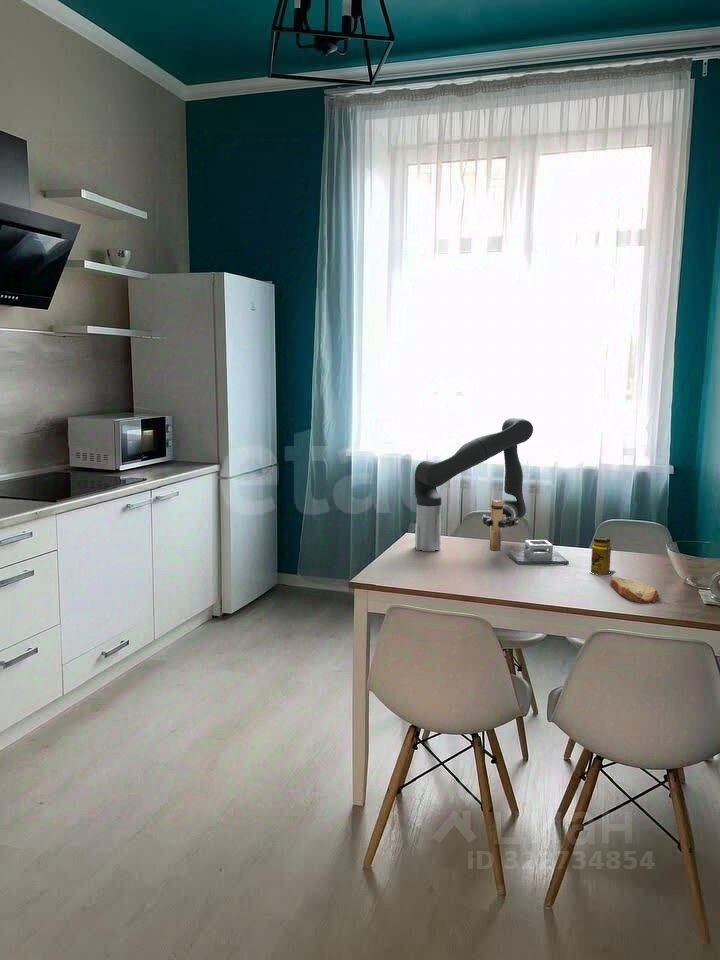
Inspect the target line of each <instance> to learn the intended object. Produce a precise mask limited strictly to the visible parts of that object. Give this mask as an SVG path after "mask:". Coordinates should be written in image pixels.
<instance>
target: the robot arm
mask: <svg viewBox="0 0 720 960" xmlns="http://www.w3.org/2000/svg"><path fill="white" fill-rule="evenodd" d="M533 433H534V426H533V424H532V422H530V421H529V420H527V419H524V418H515V417H511V418H508V419H506V420H505V421H504V422H503V424H502V427H501V431H498V432H495V433H491V434H485V435H483V436H479V437H476V438H475V439H472V440H469V441H468V442H466V443H465V444H463V445H461V446H460V448H459V449H458V450H457V451H456V452H455V453H454V454H453V455H452V456H450V457H448V458H446V459H444V460H441V461H439V462H434V461H430V460H424V461H423V460H422V461H421V462H419V463H418V464H417V465H416V468H415V472H414V494H415V498H416V520H415V521H416V522H415V525H414V526H415V529H414V530H415V531H414V532H415V534H414V535H415V536H414V548H415V547H416V548H415V550H416V551H420V550H422V551H421V552H436V551H435V550H438V551H440V550H441V534H442V533H441V531H442V530H441V528H442V497H441V495H440V494H439V493H438V490H437V488H438V487H440V486H443V485H444V484H446V483H447V482H448V481H450V480H452V479H453V478H454V477H456V476H457V475H459V474H461V473H464V472H465V471H468V470H469V469H471V468H473V467H475V466H477V465H479V464H482V463H484V462H485V461H487V460H489V459H491V458H492V457H494V456H496V455H499V454H500V453H502V452H503V457H504V486H503V487H504V488H503V490H504V493H505V494H507V495H510V496H513V497H514V498H515V500H511V499H503V500H502V501H503V514H502V521H501V522H500V528H502V529H504V528H508V527H509V528H511V527H514V526H518V525H519V519H523V518H524V517H525V516H526V512H527V507H526V503H525V498H524V494H523V485H524V484H523V481H524V479H523V478H524V473H523V468H522V464H521V462H520V458H519V454H518V446H519V444H522V443H525V442H527V441H528V440H529V439H531V437H532V436H533ZM481 517H482V518H481V522H482V523H483V525H486V526H487V527H491V514H490V515H489V516H488V515H486V514H482V515H481ZM439 549H440V550H439Z"/></svg>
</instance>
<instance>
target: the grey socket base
mask: <svg viewBox="0 0 720 960" xmlns="http://www.w3.org/2000/svg"><path fill="white" fill-rule="evenodd" d="M523 548H524V550H522V551H520V550H519V551H518V550H517V551H514V550H512V551H510V550H509V551H508V556H509V557H510V558H511V557H512V558H513V559H514V560H513V559H512V560H513V561H514V562H515V561H516V562H515V563H516V565H550V564H570V563H569V562H570V561H569V560H568V559H567V558H565V557H564V556H563V555H562V554H561V553H560V552H558V551H554V545H553V544H552V543H551V542H549V541H548V540H547V539H525V540H524V547H523Z"/></svg>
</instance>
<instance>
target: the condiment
mask: <svg viewBox="0 0 720 960" xmlns="http://www.w3.org/2000/svg"><path fill="white" fill-rule="evenodd" d="M611 553H612V548H611V539H610V538H608V537H604V536H597V537H594V538H593V543H592V546H591V560H590V561H591V563H590V571H591V572H592V573H594V574H593V575H595V574H598V575H597V576H603V577H610V576H612V575H613V574H614V573H615V572H616V570H613V569H612V570H611ZM609 572H610V573H609Z"/></svg>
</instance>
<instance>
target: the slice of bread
mask: <svg viewBox="0 0 720 960" xmlns="http://www.w3.org/2000/svg"><path fill="white" fill-rule="evenodd" d="M609 586H610V587H611V588H612V589H613V590H614V591H615V592H616V593H617V594H619V595H620V596H621V597H624V598H625V599H627V600H630V601H631V600H632V602H634V603H637V604H642V603H643V604H644V605H645V604H646V605H649V603H651V604H655V603H656V602H657V601H658V600H660V595H659V593H658V590H657V589H656V588H655V587H653V586H651V585H648V584H646V583H645V584H644V583H643V582H639V581H637V580H636V581H635V580H630V579H626V578H619V577H612V578H611V580H610V582H609ZM643 604H642V605H643Z"/></svg>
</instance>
